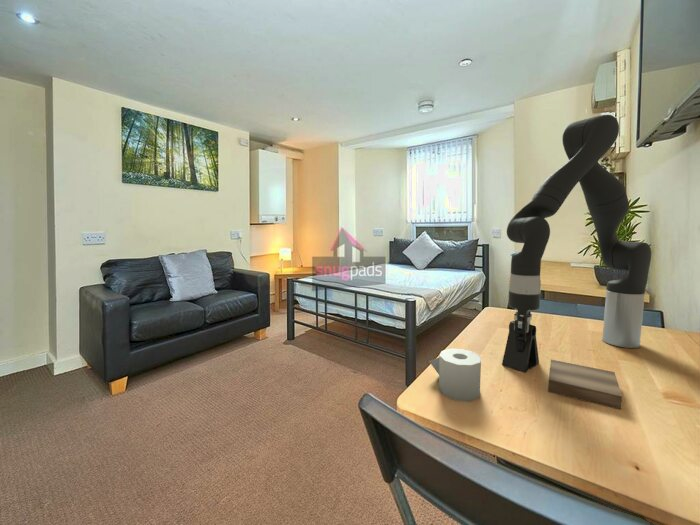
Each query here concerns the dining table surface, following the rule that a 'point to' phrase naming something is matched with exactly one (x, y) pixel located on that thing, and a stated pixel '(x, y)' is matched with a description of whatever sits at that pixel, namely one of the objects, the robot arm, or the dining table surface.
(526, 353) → the phone stand
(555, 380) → the walnut block
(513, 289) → the robot arm
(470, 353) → the toilet tissue
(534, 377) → the dining table surface
